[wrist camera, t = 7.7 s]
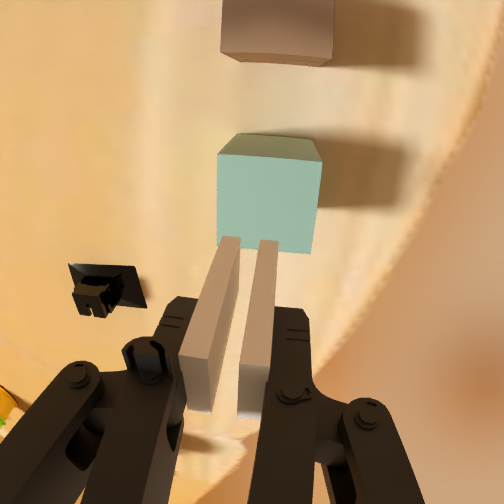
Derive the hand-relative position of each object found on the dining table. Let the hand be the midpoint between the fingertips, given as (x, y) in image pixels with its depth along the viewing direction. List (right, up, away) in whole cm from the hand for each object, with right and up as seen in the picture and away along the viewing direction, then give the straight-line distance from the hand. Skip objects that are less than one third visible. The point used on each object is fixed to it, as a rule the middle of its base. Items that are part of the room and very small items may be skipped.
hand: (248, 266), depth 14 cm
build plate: (-17, -3, +21) cm, 27 cm away
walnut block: (+2, +18, +6) cm, 19 cm away
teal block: (+2, +7, +12) cm, 14 cm away
